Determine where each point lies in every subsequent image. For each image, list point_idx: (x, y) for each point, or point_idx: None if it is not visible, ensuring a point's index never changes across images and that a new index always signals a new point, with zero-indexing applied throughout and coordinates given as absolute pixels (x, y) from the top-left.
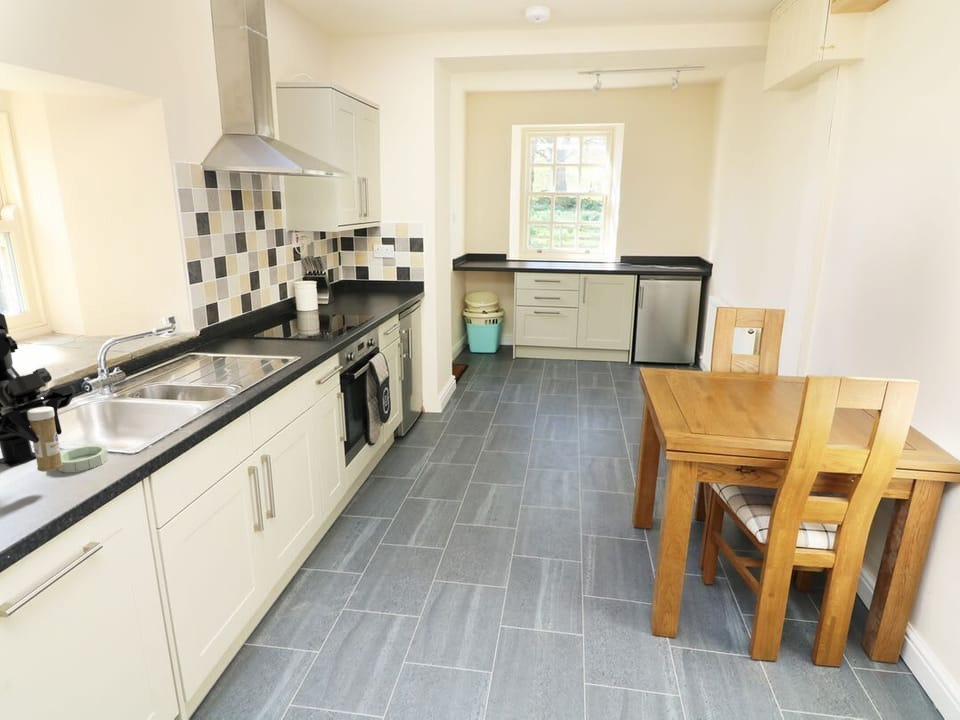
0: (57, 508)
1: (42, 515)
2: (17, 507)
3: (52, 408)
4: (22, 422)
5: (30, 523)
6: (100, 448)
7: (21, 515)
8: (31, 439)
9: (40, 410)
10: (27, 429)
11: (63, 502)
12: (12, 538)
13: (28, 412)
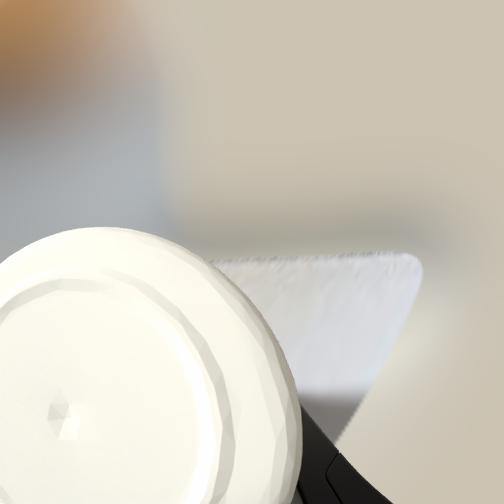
0: (303, 292)
1: (341, 297)
2: (332, 412)
3: (2, 262)
4: (337, 499)
5: (375, 290)
6: None
7: (359, 353)
8: None
9: (130, 341)
10: (312, 437)
11: (273, 306)
12: (420, 270)
13: (289, 494)
